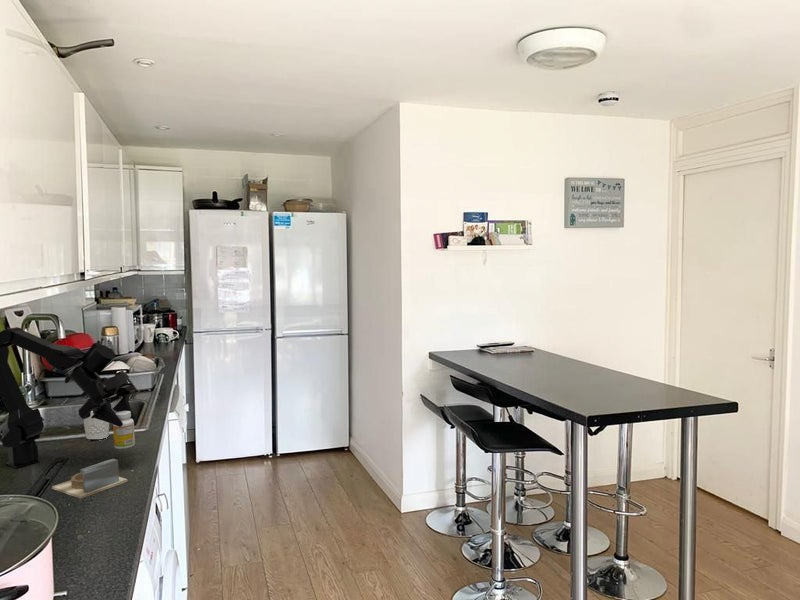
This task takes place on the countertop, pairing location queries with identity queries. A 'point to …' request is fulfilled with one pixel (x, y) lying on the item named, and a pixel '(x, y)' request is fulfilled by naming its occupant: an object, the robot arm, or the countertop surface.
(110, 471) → the seat dock
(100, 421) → the white cup
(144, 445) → the countertop surface
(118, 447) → the supplement bottle
